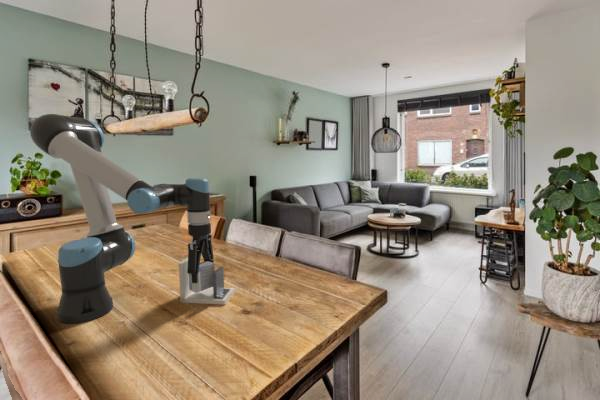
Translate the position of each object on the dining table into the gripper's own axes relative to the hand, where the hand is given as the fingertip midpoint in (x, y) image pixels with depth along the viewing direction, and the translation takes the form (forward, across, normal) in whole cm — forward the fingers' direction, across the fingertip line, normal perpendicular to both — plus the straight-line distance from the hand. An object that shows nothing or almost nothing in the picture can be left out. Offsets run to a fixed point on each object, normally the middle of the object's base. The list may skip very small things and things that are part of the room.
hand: (202, 285), depth 114 cm
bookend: (+3, +1, -7) cm, 8 cm away
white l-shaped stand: (+5, +2, -1) cm, 5 cm away
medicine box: (+1, 0, 0) cm, 1 cm away
